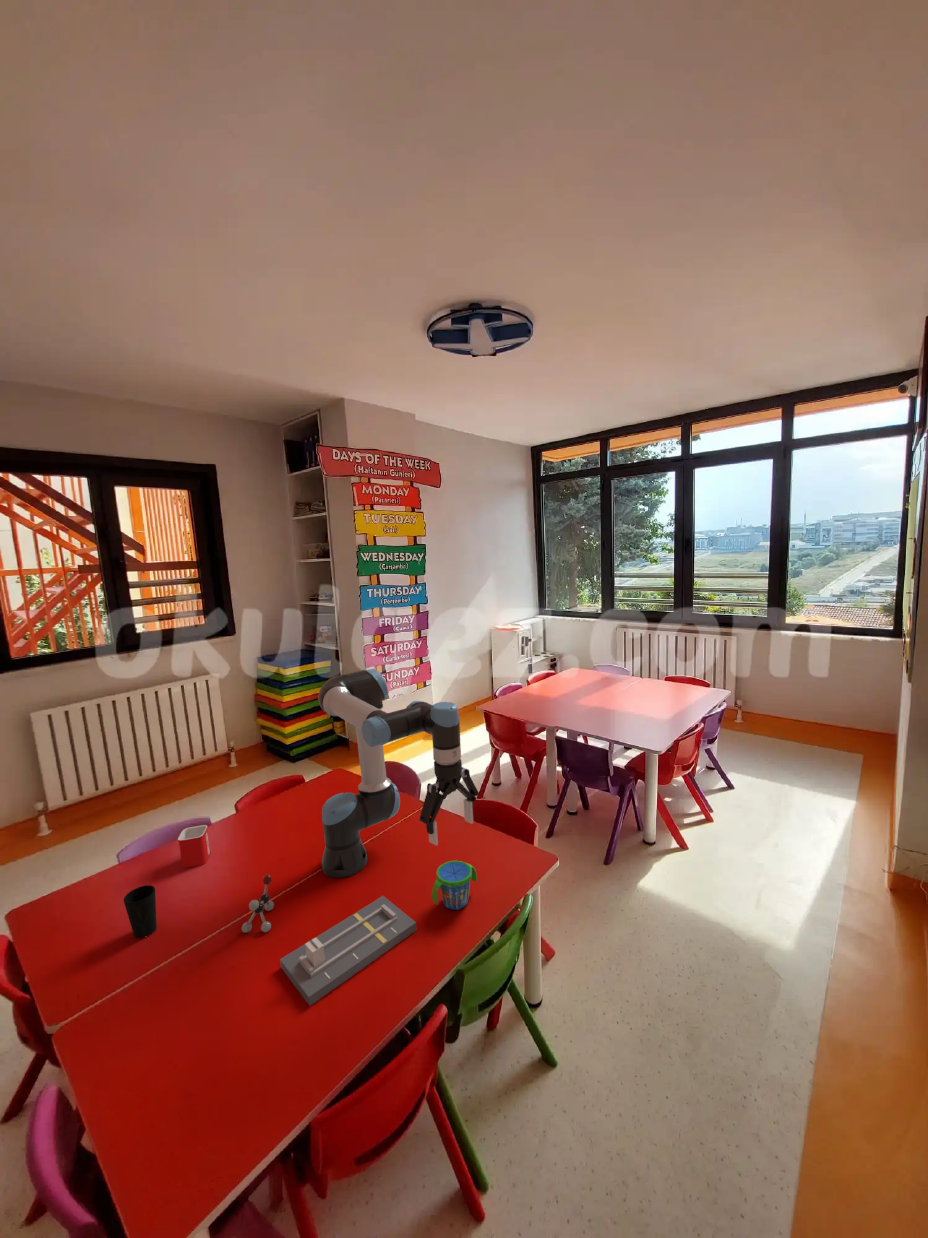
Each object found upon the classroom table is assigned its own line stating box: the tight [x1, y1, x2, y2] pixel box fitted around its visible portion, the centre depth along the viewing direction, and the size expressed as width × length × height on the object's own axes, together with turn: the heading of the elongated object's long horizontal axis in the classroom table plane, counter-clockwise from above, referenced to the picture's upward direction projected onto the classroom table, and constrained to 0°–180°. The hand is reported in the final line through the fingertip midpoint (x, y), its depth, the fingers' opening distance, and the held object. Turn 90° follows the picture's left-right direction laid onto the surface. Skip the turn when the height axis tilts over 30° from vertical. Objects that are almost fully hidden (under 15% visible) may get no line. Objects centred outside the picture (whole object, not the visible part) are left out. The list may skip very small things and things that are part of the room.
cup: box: [123, 884, 158, 939], centre depth 144 cm, size 8×8×12 cm
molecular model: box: [241, 874, 275, 934], centre depth 146 cm, size 8×12×11 cm
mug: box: [177, 824, 211, 869], centre depth 179 cm, size 12×8×11 cm
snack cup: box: [431, 860, 478, 911], centre depth 149 cm, size 16×10×10 cm
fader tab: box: [304, 936, 325, 970], centre depth 127 cm, size 4×3×5 cm
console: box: [279, 895, 418, 1007], centre depth 134 cm, size 16×32×4 cm, turn 134°
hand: (451, 832), depth 139 cm, fingers open, 13 cm apart
